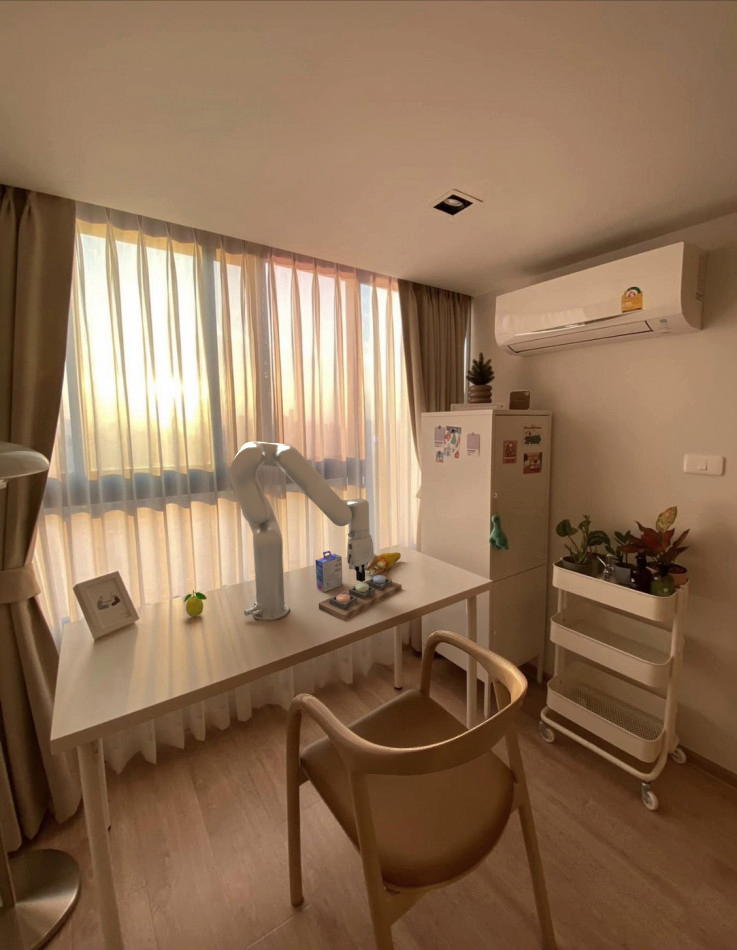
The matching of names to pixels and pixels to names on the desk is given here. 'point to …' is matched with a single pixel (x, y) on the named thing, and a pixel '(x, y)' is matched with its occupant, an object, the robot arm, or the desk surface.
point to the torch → (382, 563)
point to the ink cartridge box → (329, 572)
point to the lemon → (194, 603)
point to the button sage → (362, 588)
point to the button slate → (379, 579)
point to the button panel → (359, 599)
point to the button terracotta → (343, 598)
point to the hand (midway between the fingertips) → (360, 580)
